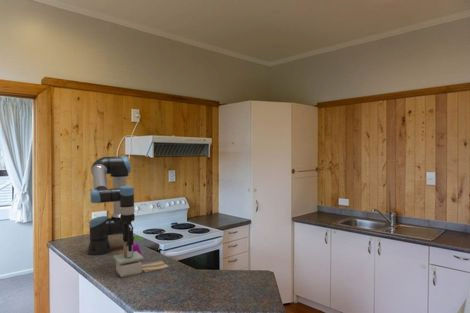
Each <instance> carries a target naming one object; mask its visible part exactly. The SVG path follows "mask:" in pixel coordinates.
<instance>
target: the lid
mask: <svg viewBox="0 0 470 313" xmlns="http://www.w3.org/2000/svg"><path fill="white" fill-rule="evenodd" d="M122 244H123V246H122V247H123V249H122V250H123V253H120V254H115V255H113V259H114V260H115V262H116V261H117V262H118V264H124V263H129V262H134V261H138V260H140V261H142V260H144V256H143V254H142V255H140V254H139V253H138V252H137V251H135V252H133V245H132V257H128V258H127V246H126V245H127V241H125V242H124V241H123V243H122Z"/></svg>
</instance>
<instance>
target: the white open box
mask: <svg viewBox="0 0 470 313" xmlns="http://www.w3.org/2000/svg"><path fill="white" fill-rule="evenodd" d="M142 264H143V263H142V260H138V261H134V262H129V263H124V264H118V262H117V261H116V260H115V269H116V270H115V271H116V273H117V274H118V276H119V277H120V278H125V277H129V276H130V277H131V276H133V275H140V274H142V272H143V271H142Z"/></svg>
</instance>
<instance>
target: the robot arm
mask: <svg viewBox="0 0 470 313" xmlns="http://www.w3.org/2000/svg"><path fill="white" fill-rule="evenodd" d="M90 173H91V175H92V181H93V182H92V183H93V189H91V190H90V203H92V204H102V203H113V204H112V205H113V212H112V214H111V215H110V217H109V216H107V215H105V216H104V215H103V216H97V217H94V218H92V219H90V221H89V243H88V247H87V249H86V253H87V255H89V256H101V255H104V254H105V255H106V254H108V253H110V252H112V246H111V243H110V240H109V236H114V235H115V236H116V235H122V241H123V242H125V241H127V245H126V246H127V258H128V257H132V245H133V244H134V243H133V236H134V226H133V224H132V222H134V221H135V214H134V213H135V212H136V211H135V187H134V186H133V185H127V178H128V177H129V174H131V173H132V172H131V163H130V159H129V157H128V156H121V155H120V156H118V155H117V156H104V157H100V158H98V159H96V160H95V161H94V162H93V163H92V165H91V168H90ZM107 175H110V177H111V178H112V188H108V180H107Z"/></svg>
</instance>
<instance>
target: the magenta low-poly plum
mask: <svg viewBox="0 0 470 313" xmlns="http://www.w3.org/2000/svg"><path fill="white" fill-rule="evenodd" d="M143 240H144V238H141V237H140V236H136V237H135V236H134V235H133V243H134V244H133V252H135V251H137V252H138V253H139V254H140V255H142V256H143V254H142V251H141V249H140V246H139V244H138V243H137V242H136V241H143Z"/></svg>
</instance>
